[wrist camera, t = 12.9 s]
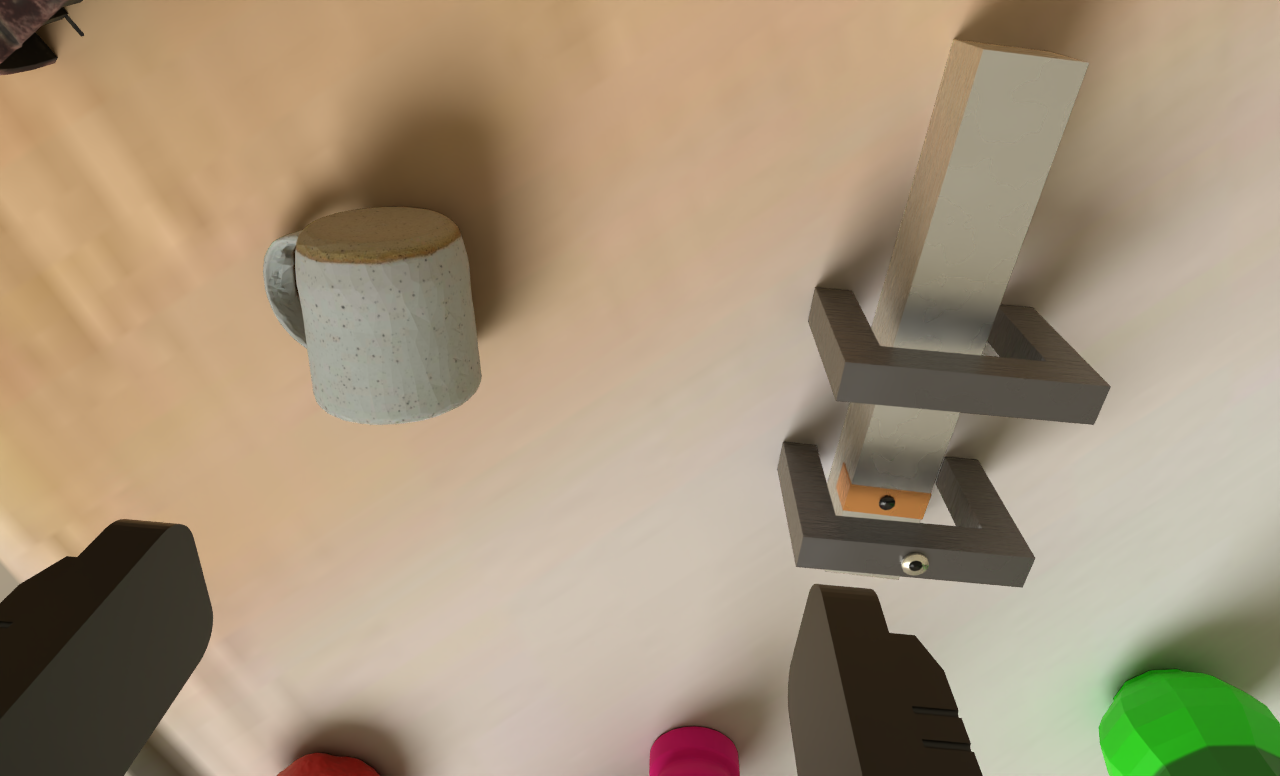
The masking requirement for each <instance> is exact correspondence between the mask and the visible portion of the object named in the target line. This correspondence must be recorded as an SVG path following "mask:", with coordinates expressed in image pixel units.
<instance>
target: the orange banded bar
mask: <svg viewBox="0 0 1280 776" xmlns="http://www.w3.org/2000/svg"><path fill="white" fill-rule="evenodd" d="M1088 65H1089V62H1085V61H1082V60H1078V59H1075V58H1071V57H1067V56H1064V55H1060V54H1057V53H1053V52H1050V51H1043V50H1035V49H1027V48H1019V47H1011V46H1003V45H995V44H987V43H979V42H971V41H963V40H955V39H953V42H952V46H951V49H950V53H949V56H948V60H947V63H946V67H945V70H944V74H943V77H942V81H941V84H940V88H939V91H938V95H937V98H936V102H935V105H934V109H933V112H932V116H931V120H930V123H929V127H928V130H927V134H926V137H925V141H924V144H923V148H922V151H921V155H920V158H919V162H918V165H917V169H916V172H915V176H914V179H913V183H912V186H911V190H910V193H909V197H908V200H907V204H906V207H905V211H904V214H903V218H902V222H901V225H900V229H899V232H898V236H897V239H896V243H895V246H894V250H893V253H892V257H891V260H890V264H889V267H888V271H887V274H886V278H885V281H884V285H883V288H882V292H881V295H880V299H879V302H878V306H877V309H876V313H875V316H874V320H873V324H872V327H871V329H872V331H873V333H874V335H875V337H876V339H877V341H878V343H879V345H880V346H885V347H896V348H907V349H917V350H928V351H939V352H950V353H961V354H971V355H982V352H983V349H984V347H985V344H986V341H987V339H988V336H989V333H990V330H991V328H992V325H993V322H994V320H995V317H996V314H997V311H998V309H999V306H1000V303H1001V301H1002V298H1003V295H1004V293H1005V290H1006V287H1007V284H1008V282H1009V279H1010V276H1011V274H1012V271H1013V268H1014V265H1015V263H1016V260H1017V257H1018V255H1019V252H1020V249H1021V246H1022V244H1023V241H1024V238H1025V236H1026V233H1027V230H1028V227H1029V225H1030V222H1031V219H1032V217H1033V214H1034V211H1035V208H1036V206H1037V203H1038V200H1039V198H1040V195H1041V192H1042V189H1043V187H1044V184H1045V181H1046V179H1047V176H1048V173H1049V170H1050V168H1051V165H1052V162H1053V160H1054V157H1055V154H1056V152H1057V149H1058V146H1059V143H1060V141H1061V138H1062V135H1063V133H1064V130H1065V127H1066V124H1067V122H1068V119H1069V116H1070V114H1071V111H1072V108H1073V105H1074V103H1075V100H1076V97H1077V95H1078V92H1079V89H1080V86H1081V84H1082V81H1083V78H1084V76H1085V73H1086V70H1087V67H1088ZM959 415H960V412H950V411H939V410H928V409H917V408H907V407H896V406H885V405H874V404H863V403H852V402H850V404H849V408H848V411H847V415H846V419H845V422H844V426H843V429H842V433H841V436H840V440H839V443H838V447H837V450H836V454H835V457H834V461H833V464H832V468H831V471H830V475H829V478H828V482H827V486H828V490H829V493H830V497H831V500H832V504H833V507H834V511H835V515H837V516H847V517H858V518H869V519H880V520H891V521H902V522H913V523H920V520H922V519H923V516H924V514H925V511H926V508H927V505H928V503H929V500H930V497H931V490H932V488H933V485H934V482H935V480H936V477H937V474H938V471H939V469H940V466H941V463H942V461H943V458H944V455H945V452H946V450H947V447H948V444H949V442H950V439H951V436H952V434H953V431H954V428H955V425H956V423H957V420H958V417H959ZM824 570H825V571H826V572H835V573H843V574H852V575H861V576H870V577H878V578H887V579H896V580H899V577H900V576H891V575H880V574H869V573H858V572H848V571H837V570H826V569H824Z"/></svg>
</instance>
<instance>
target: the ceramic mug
mask: <svg viewBox="0 0 1280 776" xmlns="http://www.w3.org/2000/svg"><path fill="white" fill-rule="evenodd" d="M295 247H296V251H295V272H296V283H297V288H298V293H299V298H300V300H299V299H298V297H297V293H296V287H295V279H294V270H293V265H294V258H293V251H294V249H295ZM263 274H264V284H265V290H266V294H267V297H268V300H269V302H270V305H271V307H272V310H273V312H274V314H275V315H276V317H277V319H278V321H279V322H280V323H281V325H282V326H283V328H284V329H285V330H286V331H287V332H288V333H289V334H290V335H291V336H292V337H293V338H294V339H295V340H296V341H297V342H299V343H300V344H301V345H303V346H304V347H305V348H306V349H307V351H308V357H309V364H310V371H311V379H312V385H313V392H314V395H315V399H316V402H317V403H318V404H319V406H320V407H321V408H322V409H324V410H325V411H326V412H327V413H328V414H330V415H333V416H335V417H337V418H340V419H342V420H345V421H349V422H355V423H360V424H370V425H386V424H402V423H410V422H416V421H423V420H426V419H430V418H433V417H436V416H439V415H441V414H443V413H446V412H448V411H450V410H452V409H455V408H457V407H459V406H460V405H462V404H463V403H464V402H466V401H467V400H468V399H469V398H470V397H471V396H472V395H473V394H474V393H475V392H476V391H477V389H478V387H479V385H480V382H481V377H482V375H481V367H480V359H479V350H478V342H477V332H476V322H475V314H474V308H473V301H472V293H471V282H470V269H469V261H468V256H467V252H466V248H465V245H464V242H463V239H462V236H461V233H460V230H459V228H458V227H457V225H456V224H455V223H454V222H453V221H452V220H451V219H449V218H448V217H446V216H445V215H442V214H440V213H438V212H436V211H432V210H428V209H420V208H411V207H375V208H364V209H357V210H351V211H345V212H340V213H335V214H332V215H328V216H325V217H322V218H320V219H317V220H315V221H313V222H312V223H310V224H308V225H307V226H306V227H305V229H304V230H301V231H298V232H294V233H291V234H288V235H285V236H283V237H281V238H279V239H277V240H275V241H274V242H273V243H272V244H271V245H270V247H269V248H268V250H267V253H266V255H265V258H264V270H263Z"/></svg>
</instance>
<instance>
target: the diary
mask: <svg viewBox="0 0 1280 776" xmlns="http://www.w3.org/2000/svg"><path fill="white" fill-rule="evenodd" d="M81 1H83V0H0V75H8V74H14V73H19V72H24V71H29V70H34V69H37V68H40V67H43V66H47V65H50V64H53V63H55V62H56V60H57V58H58V57H57V56H56V55H55V54H54V53H53V52H52V50H51V49H50V48H49V47H48V46H47V45H46V44H45V43H44V41H43V40H42V39H41V38H40V37H39V36H38V35H37V34H36V33H35V32H36V31H37V30H38V29H39V28H40V27H41V26H42V25H45V24H48V23H51V22H54V21H57V20H60V19H63V18H64V17H65V18H66V20H67V21H68V22H69V23H70V24H71V25H72V27H73V28H74V29H75V30H76V31H77V32H78V33H79V35H80V36H81V37H82V36H84V33H83V32H82V31H81V30H80V29H79V28H78V27H77V25H76V24H75V23H74V22H73V21H72V20H71V18H70V17H69V16H68V15H67V14H68V13H67V12H66V10H65V9H64V8H63V7H64V6H68V5H72V4H76V3H80V2H81Z"/></svg>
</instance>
